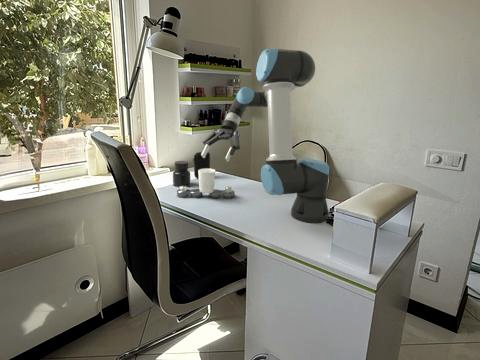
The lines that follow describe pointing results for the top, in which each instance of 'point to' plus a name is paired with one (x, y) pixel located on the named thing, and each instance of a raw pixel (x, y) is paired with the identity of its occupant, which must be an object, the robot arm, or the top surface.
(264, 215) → the top surface
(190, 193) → the chain end left
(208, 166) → the black rounded slab
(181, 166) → the ink bottle
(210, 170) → the white cup
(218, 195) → the chain end right
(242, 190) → the top surface
